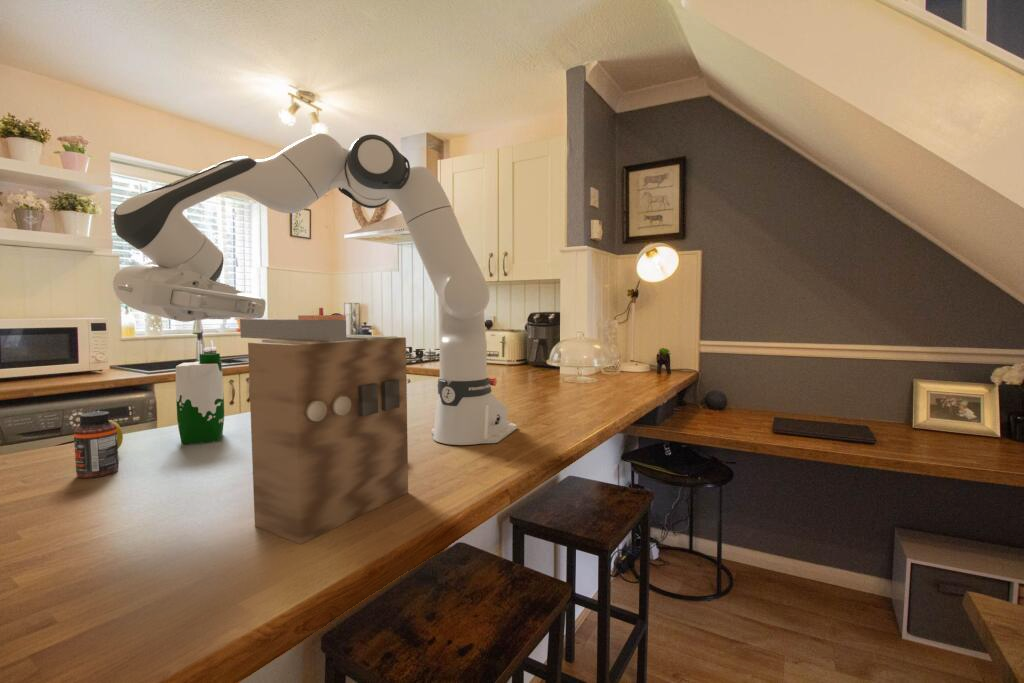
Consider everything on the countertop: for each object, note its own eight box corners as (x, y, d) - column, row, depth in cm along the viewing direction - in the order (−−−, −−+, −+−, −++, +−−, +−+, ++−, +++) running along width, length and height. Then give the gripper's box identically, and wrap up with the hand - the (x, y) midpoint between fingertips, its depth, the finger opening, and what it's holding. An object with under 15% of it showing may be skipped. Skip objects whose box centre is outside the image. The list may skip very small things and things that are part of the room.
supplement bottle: (70, 475, 86) (66, 414, 85) (110, 466, 91) (106, 408, 90) (85, 481, 83) (81, 418, 82) (125, 471, 88) (122, 411, 87)
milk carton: (222, 441, 108) (218, 355, 107) (174, 446, 104) (170, 356, 103) (227, 432, 116) (224, 352, 114) (183, 437, 112) (179, 353, 111)
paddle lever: (263, 336, 74) (262, 314, 74) (351, 340, 64) (350, 315, 64) (235, 337, 70) (234, 315, 70) (323, 342, 60) (323, 315, 60)
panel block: (365, 481, 83) (362, 334, 81) (412, 493, 77) (410, 335, 76) (254, 526, 66) (247, 340, 64) (305, 546, 60) (299, 343, 58)
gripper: (114, 265, 73) (165, 275, 67) (238, 287, 92) (287, 295, 86) (108, 305, 73) (158, 318, 67) (233, 319, 92) (282, 329, 86)
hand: (231, 305), depth 77 cm, fingers open, 8 cm apart
